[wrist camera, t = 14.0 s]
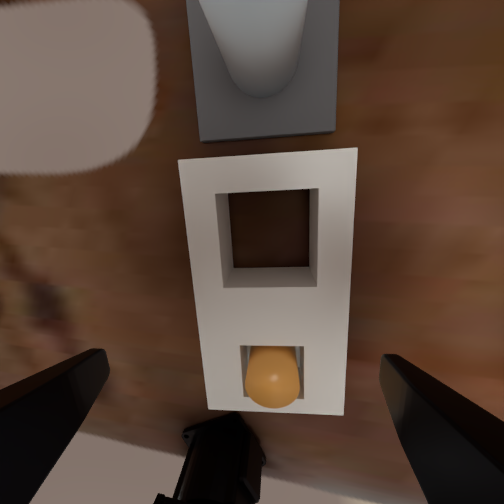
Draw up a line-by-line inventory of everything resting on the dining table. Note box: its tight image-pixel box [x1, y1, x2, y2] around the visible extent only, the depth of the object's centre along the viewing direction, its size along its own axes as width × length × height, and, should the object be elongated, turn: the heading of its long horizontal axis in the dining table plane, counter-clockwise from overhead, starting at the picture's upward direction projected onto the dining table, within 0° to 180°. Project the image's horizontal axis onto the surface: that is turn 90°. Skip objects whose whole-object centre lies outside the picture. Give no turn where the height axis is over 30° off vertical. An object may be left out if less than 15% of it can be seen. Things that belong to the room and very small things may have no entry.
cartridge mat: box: [186, 0, 339, 143], centre depth 16 cm, size 9×9×1 cm
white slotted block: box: [178, 148, 358, 415], centre depth 18 cm, size 10×18×4 cm, turn 3°
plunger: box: [245, 345, 300, 408], centre depth 18 cm, size 4×4×4 cm
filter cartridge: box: [199, 0, 308, 98], centre depth 11 cm, size 4×4×9 cm
